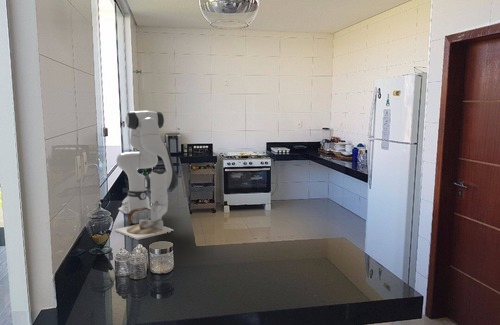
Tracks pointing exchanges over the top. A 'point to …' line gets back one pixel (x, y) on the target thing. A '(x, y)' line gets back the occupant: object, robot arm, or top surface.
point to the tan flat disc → (146, 227)
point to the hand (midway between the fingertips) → (159, 224)
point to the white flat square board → (141, 236)
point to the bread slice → (139, 215)
